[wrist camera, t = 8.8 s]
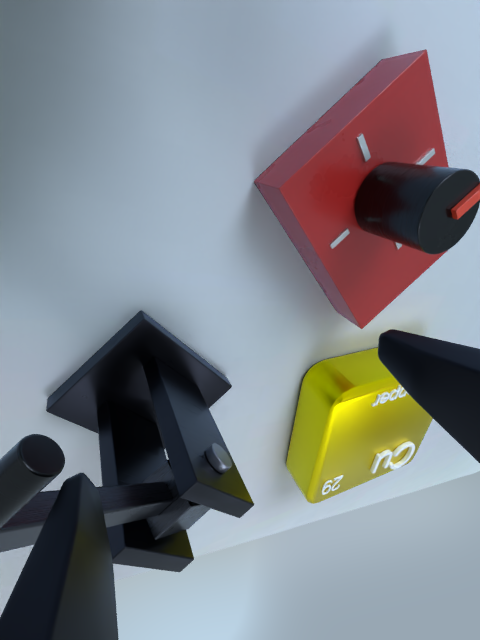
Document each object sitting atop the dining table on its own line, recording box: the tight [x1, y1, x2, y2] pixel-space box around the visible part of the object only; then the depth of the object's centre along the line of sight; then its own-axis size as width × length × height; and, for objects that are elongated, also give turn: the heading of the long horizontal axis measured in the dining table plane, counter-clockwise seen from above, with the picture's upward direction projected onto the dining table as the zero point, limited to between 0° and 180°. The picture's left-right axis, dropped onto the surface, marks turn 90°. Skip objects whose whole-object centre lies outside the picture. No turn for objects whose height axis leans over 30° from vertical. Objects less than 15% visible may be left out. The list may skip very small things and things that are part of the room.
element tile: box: [286, 347, 433, 504], centre depth 33 cm, size 15×15×5 cm
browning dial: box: [355, 162, 480, 254], centre depth 17 cm, size 4×4×5 cm
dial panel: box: [254, 50, 448, 329], centre depth 21 cm, size 13×10×3 cm
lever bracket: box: [46, 311, 254, 572], centre depth 18 cm, size 9×8×10 cm
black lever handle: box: [0, 434, 211, 552], centre depth 12 cm, size 12×6×2 cm, turn 36°
